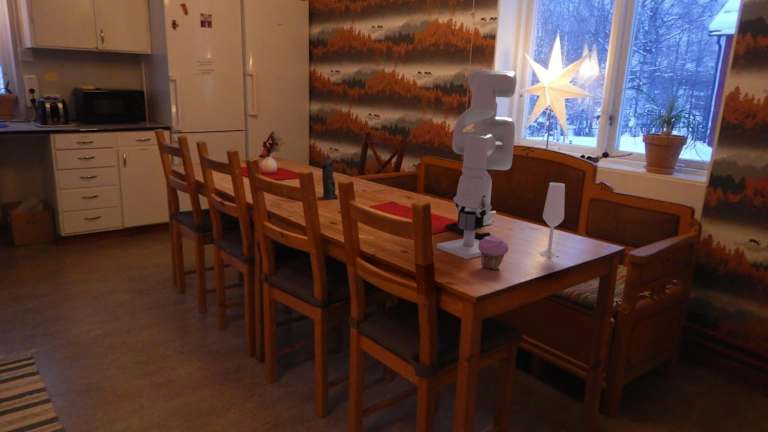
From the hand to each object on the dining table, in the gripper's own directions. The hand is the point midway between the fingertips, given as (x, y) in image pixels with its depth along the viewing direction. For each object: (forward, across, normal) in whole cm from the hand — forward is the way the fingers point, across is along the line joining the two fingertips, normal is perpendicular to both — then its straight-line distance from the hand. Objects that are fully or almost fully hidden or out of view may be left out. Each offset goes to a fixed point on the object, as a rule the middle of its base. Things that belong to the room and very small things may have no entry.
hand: (470, 225), depth 179 cm
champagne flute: (+9, +18, +20) cm, 28 cm away
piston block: (+9, 0, 0) cm, 9 cm away
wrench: (+9, -10, +13) cm, 19 cm away
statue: (+8, -92, +2) cm, 93 cm away
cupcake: (+9, +16, -7) cm, 20 cm away
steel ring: (+1, 0, 0) cm, 1 cm away
